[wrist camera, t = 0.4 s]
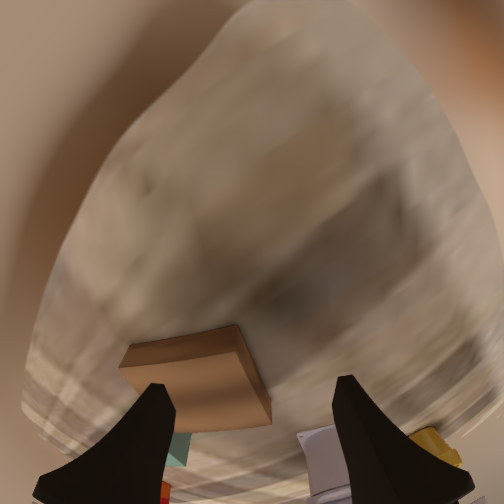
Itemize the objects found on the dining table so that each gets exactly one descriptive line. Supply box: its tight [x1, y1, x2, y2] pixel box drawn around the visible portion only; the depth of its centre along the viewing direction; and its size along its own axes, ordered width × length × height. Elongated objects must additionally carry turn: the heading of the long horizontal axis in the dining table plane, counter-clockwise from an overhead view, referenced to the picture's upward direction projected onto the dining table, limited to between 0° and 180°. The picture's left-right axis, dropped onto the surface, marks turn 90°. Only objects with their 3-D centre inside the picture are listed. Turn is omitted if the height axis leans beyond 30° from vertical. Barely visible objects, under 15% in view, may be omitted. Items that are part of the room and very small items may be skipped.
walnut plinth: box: [119, 325, 272, 433], centre depth 21 cm, size 10×10×3 cm
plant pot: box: [409, 427, 462, 468], centre depth 25 cm, size 10×10×10 cm
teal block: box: [165, 432, 192, 467], centre depth 24 cm, size 4×4×5 cm
